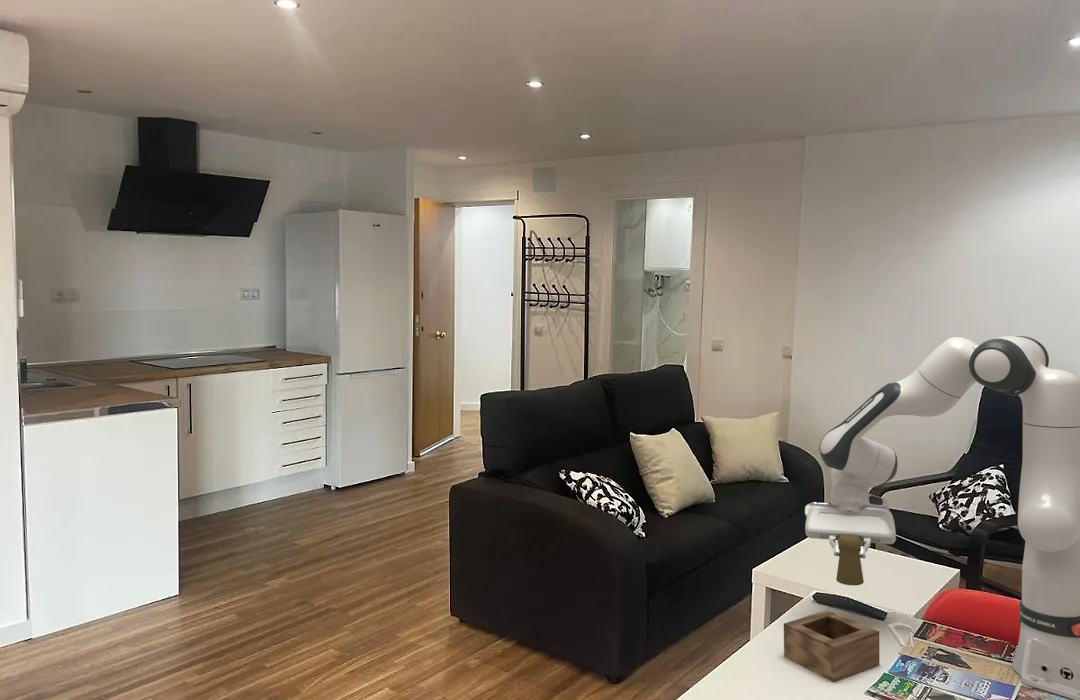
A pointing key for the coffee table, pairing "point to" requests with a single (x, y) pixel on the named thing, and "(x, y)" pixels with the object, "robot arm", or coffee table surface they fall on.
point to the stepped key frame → (892, 629)
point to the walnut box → (831, 645)
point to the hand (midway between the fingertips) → (849, 556)
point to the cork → (849, 560)
